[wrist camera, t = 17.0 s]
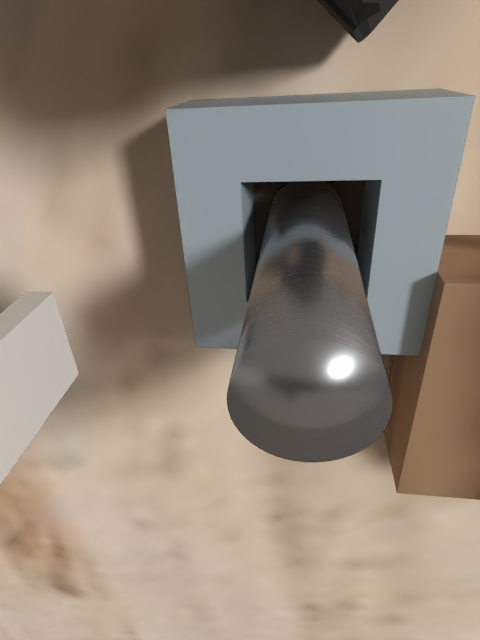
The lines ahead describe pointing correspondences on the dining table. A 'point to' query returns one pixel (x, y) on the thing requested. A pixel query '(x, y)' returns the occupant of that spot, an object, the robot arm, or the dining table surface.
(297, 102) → the grey square holed block
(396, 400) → the socket block
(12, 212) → the dining table surface
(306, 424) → the steel round bar
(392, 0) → the gun
